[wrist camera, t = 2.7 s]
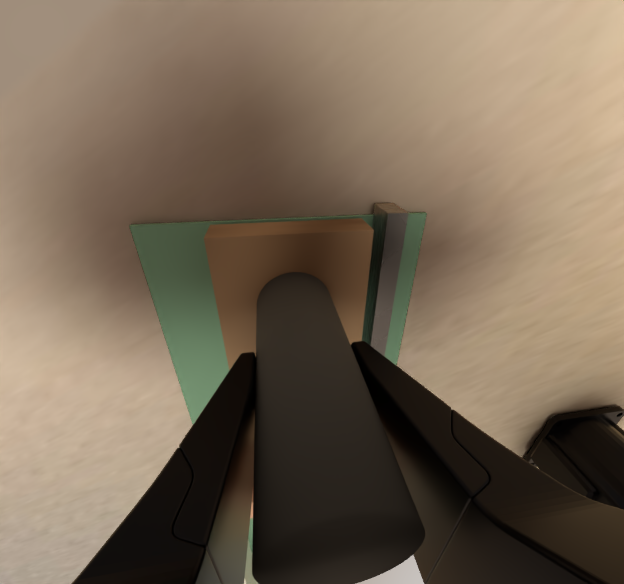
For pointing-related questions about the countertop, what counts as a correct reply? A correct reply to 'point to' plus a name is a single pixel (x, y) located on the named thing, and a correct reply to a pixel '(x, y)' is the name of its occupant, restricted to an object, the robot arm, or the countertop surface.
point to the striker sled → (311, 402)
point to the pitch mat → (202, 304)
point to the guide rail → (383, 272)
